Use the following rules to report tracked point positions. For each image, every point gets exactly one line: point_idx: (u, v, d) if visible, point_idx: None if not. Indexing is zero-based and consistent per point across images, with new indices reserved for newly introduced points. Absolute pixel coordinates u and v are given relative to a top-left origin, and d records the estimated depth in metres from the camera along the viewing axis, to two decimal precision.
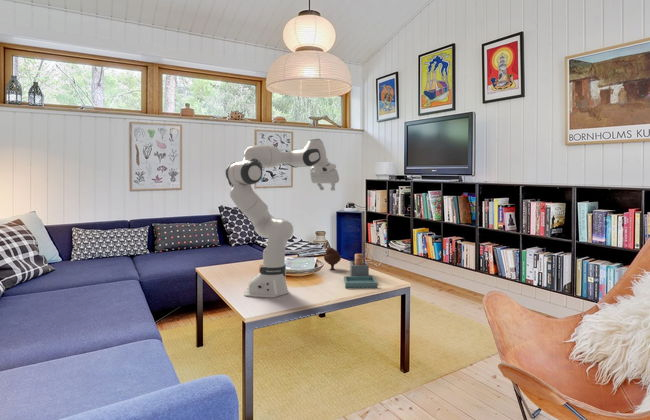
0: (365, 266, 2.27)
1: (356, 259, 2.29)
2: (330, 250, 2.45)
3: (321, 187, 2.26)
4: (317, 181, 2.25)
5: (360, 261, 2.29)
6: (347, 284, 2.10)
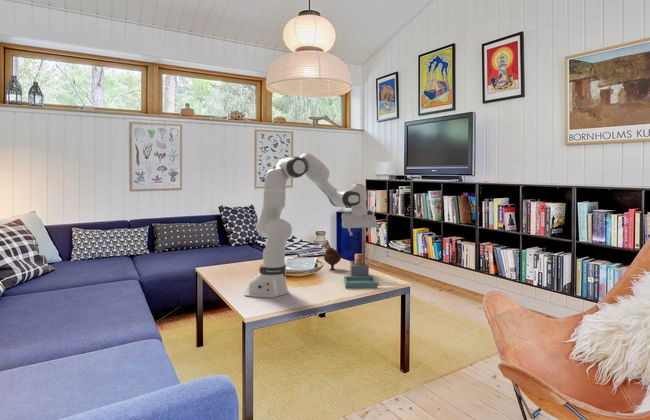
0: (365, 266, 2.27)
1: (356, 259, 2.29)
2: (330, 250, 2.45)
3: None
4: (351, 225, 2.28)
5: (360, 261, 2.29)
6: (347, 284, 2.10)
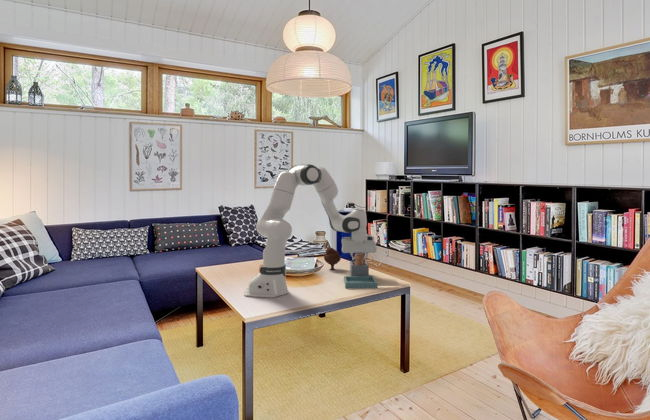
0: (365, 266, 2.27)
1: (356, 259, 2.29)
2: (330, 250, 2.45)
3: (354, 257, 2.30)
4: (351, 250, 2.29)
5: (360, 261, 2.29)
6: (347, 284, 2.10)
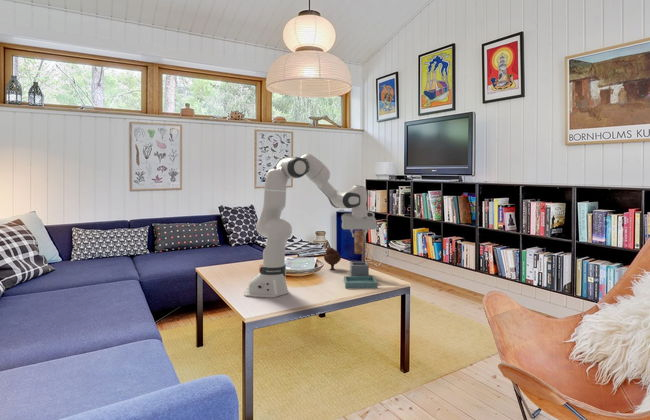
0: (365, 266, 2.27)
1: (356, 236, 2.28)
2: (330, 250, 2.45)
3: (354, 234, 2.29)
4: (351, 227, 2.28)
5: (360, 238, 2.28)
6: (347, 284, 2.10)
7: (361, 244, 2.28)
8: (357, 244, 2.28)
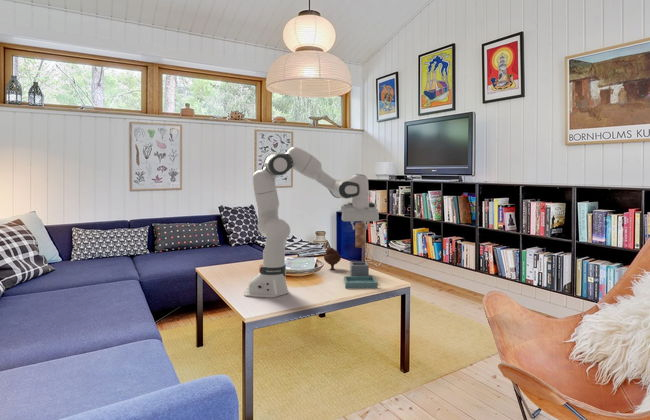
0: (365, 266, 2.27)
1: (357, 228, 2.13)
2: (330, 250, 2.45)
3: (355, 226, 2.14)
4: (351, 219, 2.13)
5: (361, 230, 2.13)
6: (347, 284, 2.10)
7: (362, 237, 2.13)
8: (358, 237, 2.13)
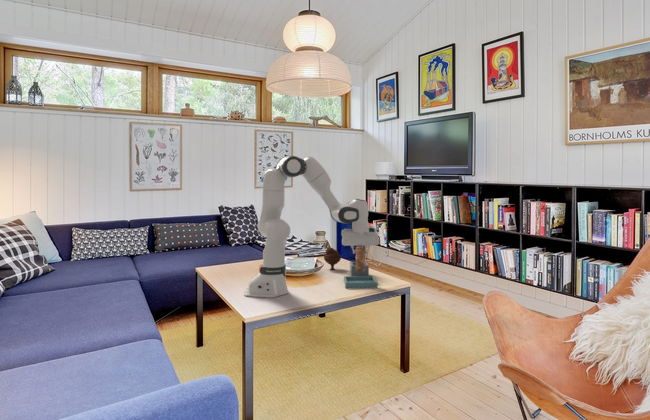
0: (365, 266, 2.27)
1: (357, 252, 2.14)
2: (330, 250, 2.45)
3: (355, 250, 2.15)
4: (352, 243, 2.14)
5: (361, 254, 2.14)
6: (347, 284, 2.10)
7: (363, 261, 2.15)
8: (358, 261, 2.14)
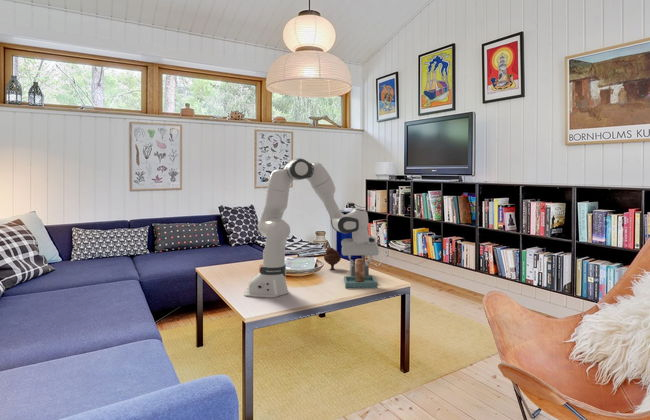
0: (365, 266, 2.27)
1: (357, 265, 2.15)
2: (330, 250, 2.45)
3: (352, 260, 2.16)
4: (351, 253, 2.14)
5: (361, 267, 2.15)
6: (347, 284, 2.10)
7: (362, 273, 2.15)
8: (358, 273, 2.15)
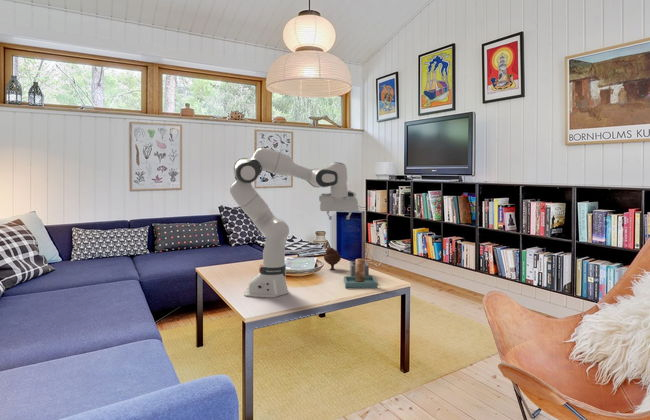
0: (365, 266, 2.27)
1: (357, 265, 2.15)
2: (330, 250, 2.45)
3: (331, 216, 2.07)
4: (330, 208, 2.05)
5: (361, 267, 2.15)
6: (347, 284, 2.10)
7: (362, 273, 2.15)
8: (358, 273, 2.15)
